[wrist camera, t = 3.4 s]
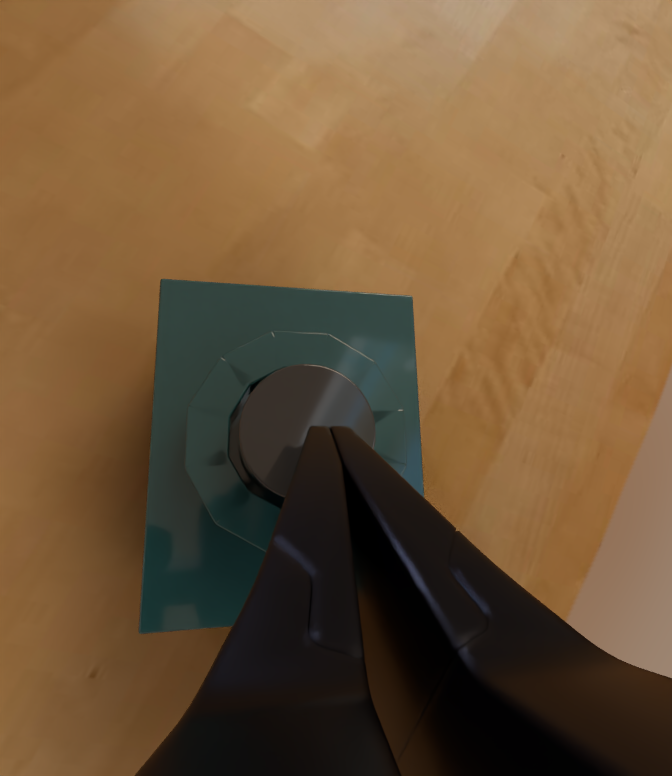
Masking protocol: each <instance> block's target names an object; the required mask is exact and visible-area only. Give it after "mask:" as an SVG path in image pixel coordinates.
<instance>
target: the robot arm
mask: <svg viewBox="0 0 672 776" xmlns="http://www.w3.org/2000/svg"><path fill="white" fill-rule="evenodd" d="M135 776H672V678H669V677H666V676H662V675H660V674H657V673H654V672H650V671H648V670H644V669H641V668H639V667H636V666H633V665H631V664H628V663H626V662H624V661H622V660H619V659H617V658H615V657H614V656H612V655H610V654H608V653H607V652H605V651H603V650H602V649H600V648H598V647H597V646H596V645H594V644H593V643H591V642H590V641H589V640H587V639H586V638H585V637H584V636H582V635H581V634H580V633H578V632H577V631H576V630H575V629H573V628H572V627H571V626H570V625H569V624H567V623H566V622H565V621H564V620H562V619H561V618H560V617H559V616H557V615H556V614H555V613H554V612H552V611H551V610H550V609H549V608H547V607H546V606H545V605H544V604H542V603H541V602H540V601H539V600H537V599H536V598H535V597H534V596H533V595H531V594H530V593H529V592H528V591H526V590H525V589H524V588H523V587H521V586H520V585H519V584H518V583H517V582H515V581H514V580H513V579H512V578H511V577H509V576H508V575H507V574H506V573H505V572H503V571H502V570H501V569H500V568H499V567H497V566H496V565H495V564H494V563H493V562H492V561H491V560H489V559H488V558H487V557H486V556H485V555H484V554H483V553H482V552H481V551H480V550H479V549H477V548H476V547H475V546H474V545H473V544H472V543H471V542H470V541H469V540H468V539H467V538H466V537H465V536H464V535H463V534H462V533H461V532H459V531H456V528H455V527H454V526H453V525H452V524H451V523H450V522H449V521H448V520H447V519H446V518H445V517H444V516H443V515H442V514H440V513H439V512H438V511H437V510H436V509H435V508H434V507H433V506H432V505H431V504H430V503H429V502H428V501H427V500H426V499H425V498H424V497H423V496H422V495H421V494H420V493H419V492H417V491H416V490H415V489H414V488H413V487H412V486H411V485H410V484H409V483H408V482H407V481H406V480H405V479H404V478H403V477H402V476H401V475H400V474H399V473H398V472H397V471H396V470H395V469H393V468H392V467H391V466H390V465H389V464H388V463H387V462H386V461H385V460H384V459H383V458H382V457H381V456H380V455H379V454H378V453H377V452H376V451H375V450H374V449H373V448H372V447H370V446H369V445H368V444H367V443H366V442H365V441H364V440H363V439H362V438H361V437H360V436H359V435H358V434H357V433H356V432H355V431H354V430H353V429H352V428H351V427H349V426H331V427H330V428H329V427H328V426H310V427H309V429H308V432H307V435H306V438H305V441H304V444H303V447H302V450H301V452H300V455H299V458H298V461H297V464H296V467H295V470H294V473H293V476H292V479H291V482H290V485H289V487H288V490H287V493H286V496H285V499H284V502H283V505H282V508H281V511H280V514H279V517H278V520H277V522H276V525H275V528H274V531H273V534H272V537H271V540H270V542H269V545H268V548H267V551H266V554H265V557H264V559H263V562H262V564H261V567H260V570H259V572H258V575H257V577H256V580H255V582H254V584H253V586H252V588H251V590H250V593H249V595H248V597H247V599H246V601H245V603H244V605H243V607H242V609H241V611H240V613H239V615H238V617H237V619H236V621H235V623H234V625H233V627H232V628H231V630H230V632H229V634H228V636H227V638H226V640H225V642H224V644H223V646H222V648H221V649H220V651H219V653H218V655H217V657H216V659H215V661H214V663H213V665H212V667H211V669H210V671H209V672H208V674H207V676H206V678H205V680H204V682H203V683H202V685H201V687H200V689H199V690H198V692H197V694H196V696H195V697H194V699H193V701H192V702H191V704H190V706H189V707H188V709H187V710H186V712H185V713H184V715H183V716H182V718H181V719H180V721H179V722H178V724H177V725H176V726H175V727H174V729H173V730H172V731H171V732H170V733H169V735H168V736H167V737H166V738H165V739H164V741H163V742H162V743H161V744H160V745H159V747H158V748H157V749H156V750H155V751H154V753H153V754H152V755H151V756H150V758H149V759H148V760H147V761H146V762H145V764H144V765H143V766H142V767H141V768H140V770H139V771H138V772H137V773H136V774H135Z"/></svg>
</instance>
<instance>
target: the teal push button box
mask: <svg viewBox="0 0 672 776" xmlns="http://www.w3.org/2000/svg"><path fill="white" fill-rule="evenodd" d="M298 364H316V365H321V366H325V367H328V368H331V369H334V370H336V371H338V372H340V373H342V374H343V375H345V376H346V377H347V378H349V379H350V380H351V381H352V382H353V383H355V384H356V386H357V387H358V388H359V389H360V390H361V391H362V393H363V394H364V396H365V397H366V399H367V401H368V403H369V405H370V407H371V410H372V413H373V417H374V421H375V429H376V439H375V446H374V450H375V451H376V452H377V453H378V454H379V455H380V456H381V457H382V458H383V459H384V460H385V461H386V462H387V463H388V464H389V465H390V466H391V467H392V468H393V469H395V470H396V471H397V472H398V473H399V474H400V475H401V476H402V477H403V478H404V479H405V480H406V481H407V482H408V483H409V484H410V485H411V486H412V487H413V488H414V489H415V490H416V491H417V492H419V493H420V494H421V495H422V496H423V497H424V487H423V470H422V453H421V435H420V418H419V401H418V384H417V367H416V350H415V333H414V316H413V299H412V296H407V295H392V294H378V293H363V292H348V291H333V290H319V289H304V288H289V287H275V286H260V285H245V284H231V283H216V282H201V281H187V280H172V279H161V281H160V295H159V311H158V327H157V343H156V359H155V375H154V391H153V407H152V423H151V439H150V455H149V471H148V487H147V503H146V519H145V535H144V551H143V567H142V583H141V599H140V615H139V634H148V633H160V632H172V631H184V630H195V629H207V628H219V627H231V626H233V625H234V623H235V621H236V619H237V617H238V615H239V613H240V611H241V609H242V607H243V605H244V603H245V601H246V599H247V597H248V595H249V593H250V590H251V588H252V586H253V584H254V582H255V580H256V577H257V575H258V572H259V570H260V567H261V564H262V562H263V559H264V557H265V554H266V551H267V548H268V545H269V542H270V540H271V537H272V534H273V531H274V528H275V525H276V522H277V520H278V517H279V514H280V511H281V508H282V505H283V502H284V499H285V498H284V497H280V496H277V495H275V494H273V493H271V492H269V491H267V490H266V489H264V488H263V487H262V486H260V485H259V484H258V483H257V482H256V481H255V480H254V479H253V478H252V476H251V475H250V474H249V472H248V471H247V469H246V467H245V465H244V463H243V460H242V457H241V454H240V449H239V421H240V417H241V412H242V410H243V407H244V404H245V402H246V400H247V399H248V397H249V395H250V394H251V392H252V391H253V390H254V388H255V387H256V386H257V385H258V384H259V383H260V382H261V381H262V380H263V379H265V378H266V377H267V376H269V375H270V374H272V373H273V372H275V371H277V370H280V369H282V368H285V367H288V366H291V365H298Z"/></svg>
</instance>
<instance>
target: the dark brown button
mask: <svg viewBox="0 0 672 776" xmlns="http://www.w3.org/2000/svg"><path fill="white" fill-rule="evenodd" d="M310 426H328V427H329V428H330V427H331V426H349V427H351V428H352V429H353V430H354V431H355V432H356V433H357V434H358V435H359V436H360V437H361V438H362V439H363V440H364V441H365V442H366V443H367V444H368V445H369V446H370V447H372V448H373V449H374V446H375V439H376V429H375V421H374V417H373V413H372V410H371V407H370V405H369V403H368V401H367V399H366V397H365V396H364V394H363V393H362V391H361V390H360V389H359V388H358V387H357V386H356V384H355V383H353V382H352V381H351V380H350V379H349V378H347V377H346V376H345V375H343V374H342V373H340V372H338V371H336V370H334V369H331V368H328V367H325V366H321V365H316V364H298V365H291V366H288V367H285V368H282V369H280V370H277V371H275V372H273V373H272V374H270V375H269V376H267V377H266V378H265V379H263V380H262V381H261V382H260V383H259V384H258V385H257V386H256V387H255V388H254V390H253V391H252V392H251V394H250V395H249V397H248V399H247V400H246V402H245V404H244V407H243V410H242V412H241V417H240V421H239V449H240V454H241V457H242V460H243V463H244V465H245V467H246V469H247V471H248V472H249V474H250V475H251V476H252V478H253V479H254V480H255V481H256V482H257V483H258V484H259V485H260V486H262V487H263V488H264V489H266V490H267V491H269V492H271V493H273V494H275V495H277V496H280V497H284V498H285V496H286V493H287V490H288V487H289V485H290V482H291V479H292V476H293V473H294V470H295V467H296V464H297V461H298V458H299V455H300V452H301V450H302V447H303V444H304V441H305V438H306V435H307V432H308V429H309V427H310Z"/></svg>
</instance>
